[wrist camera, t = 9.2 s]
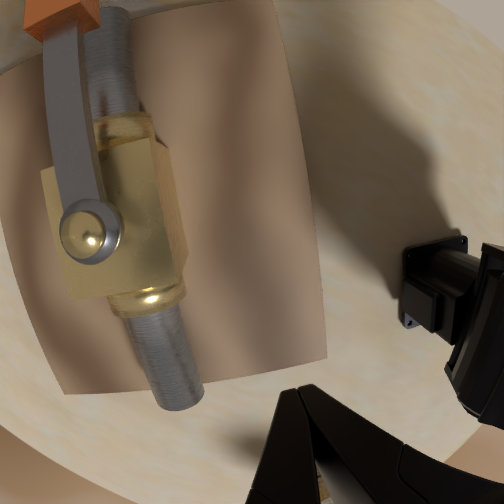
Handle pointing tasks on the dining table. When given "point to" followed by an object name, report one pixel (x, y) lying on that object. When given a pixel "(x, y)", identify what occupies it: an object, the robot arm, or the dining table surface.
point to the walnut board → (185, 203)
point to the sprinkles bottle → (324, 492)
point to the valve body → (134, 220)
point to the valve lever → (74, 128)
